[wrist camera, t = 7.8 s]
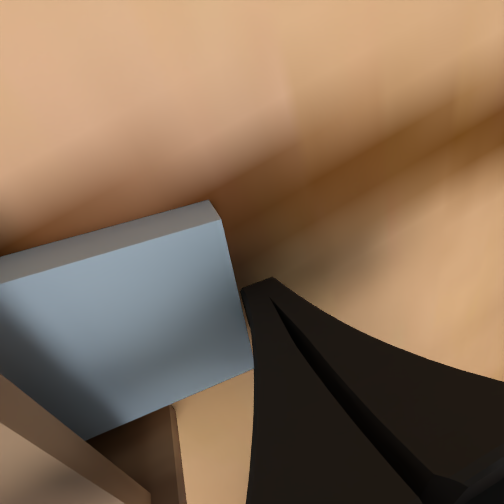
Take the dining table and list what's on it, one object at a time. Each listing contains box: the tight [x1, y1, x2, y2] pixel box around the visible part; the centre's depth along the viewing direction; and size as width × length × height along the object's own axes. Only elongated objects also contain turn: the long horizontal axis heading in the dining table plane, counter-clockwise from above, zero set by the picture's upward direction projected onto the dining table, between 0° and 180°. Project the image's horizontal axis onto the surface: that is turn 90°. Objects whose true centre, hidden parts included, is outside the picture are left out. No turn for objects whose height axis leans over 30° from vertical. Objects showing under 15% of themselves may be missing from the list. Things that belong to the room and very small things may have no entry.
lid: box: [0, 200, 254, 441], centre depth 9 cm, size 7×12×2 cm, turn 99°
